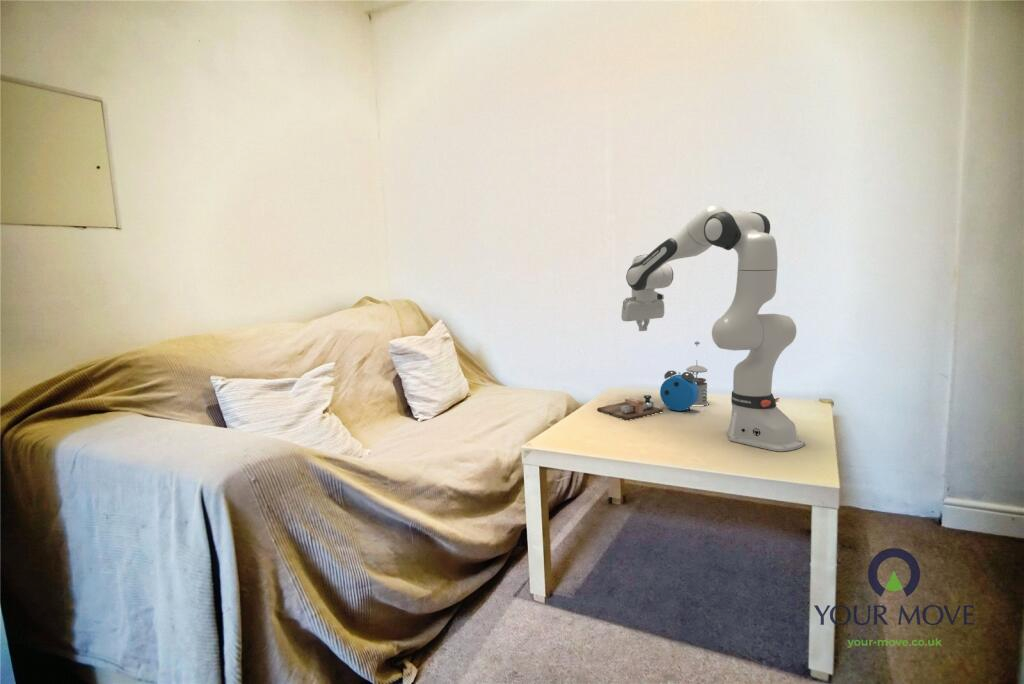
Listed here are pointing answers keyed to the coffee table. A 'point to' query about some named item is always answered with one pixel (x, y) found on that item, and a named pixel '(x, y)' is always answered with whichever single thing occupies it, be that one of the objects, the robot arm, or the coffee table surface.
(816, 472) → the coffee table surface
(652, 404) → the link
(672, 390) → the alarm clock
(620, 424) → the coffee table surface
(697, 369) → the french press
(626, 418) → the pivot board
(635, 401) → the keeper
